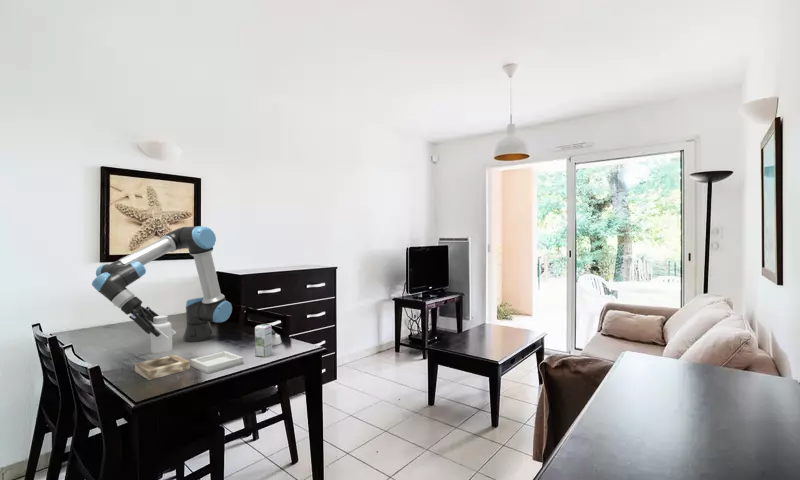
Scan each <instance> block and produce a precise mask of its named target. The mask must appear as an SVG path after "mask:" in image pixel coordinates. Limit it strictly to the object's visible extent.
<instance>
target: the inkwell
mask: <svg viewBox="0 0 800 480" xmlns="http://www.w3.org/2000/svg"><path fill="white" fill-rule="evenodd" d="M282 343H283V342H282V338H281V335H280V334H278V333H277V332H276V331H275V330H274V329H273V328H272V346H277V345H280V344H282Z"/></svg>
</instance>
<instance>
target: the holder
mask: <svg viewBox="0 0 800 480" xmlns="http://www.w3.org/2000/svg"><path fill="white" fill-rule="evenodd" d="M189 370H191V360H187V359H186V358H184V357H181V356H179V355H176V354H171V355H167V356H162V357H159V358H153V359H150V360H145V361H140V362H136V363H134V372H135V373H136V374H138V375H140V376H142V377H143V378H144V379H147V380H148V381H150V380H155V379H158V378H162V377H166V376H169V375H174V374H178V373H180V372H185V371H189Z"/></svg>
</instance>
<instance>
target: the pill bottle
mask: <svg viewBox="0 0 800 480" xmlns="http://www.w3.org/2000/svg"><path fill="white" fill-rule="evenodd" d="M168 318H169V316H168V315H159V316H156V317H154V318H153V321H154V323H153V322H152V325H153V326H154V327H155V328H158V329H159V330H160V331H161V332H163V333H164V334H165V335H166V336H167V337H169V338H168V339H167V340H166V341H165V342H164V343H163V342H162V341H160V340H159V339H158V338H157V337H156V336H154V335H153V334H152V333H150V334H149V337H150V352H151V353H152V354H163V353H167V352H170V351H172V350H173V336H172V329H173V328H172V327H173V326H172V323H171V322H170V321H168V320H169V319H168Z"/></svg>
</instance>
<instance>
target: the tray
mask: <svg viewBox="0 0 800 480" xmlns="http://www.w3.org/2000/svg"><path fill="white" fill-rule="evenodd" d="M240 365H244V357H243V356H241V355H238V354H235V353H232V352H229V351H226V350H225V351H224V350H223V351H221V352H215V353H212V354H207V355H204V356H200V357H195V358H191V359H190V368H191V367H192V368H194V369H197V370H199V371H200V372H203V373H205V374H207V375H208V374H211V373H215V372H219V371H222V370H223V371H224V370H226V369H231V368H234V367H237V366H240Z"/></svg>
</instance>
